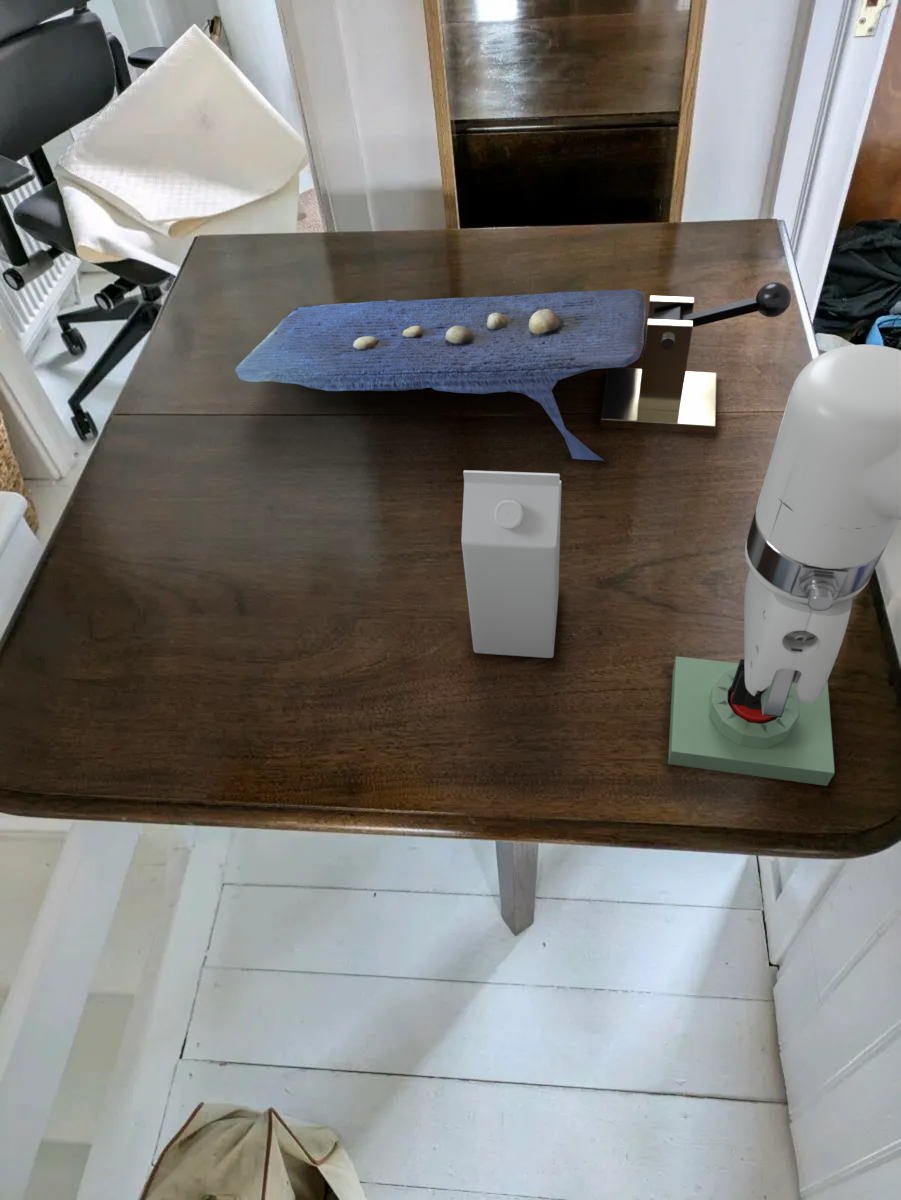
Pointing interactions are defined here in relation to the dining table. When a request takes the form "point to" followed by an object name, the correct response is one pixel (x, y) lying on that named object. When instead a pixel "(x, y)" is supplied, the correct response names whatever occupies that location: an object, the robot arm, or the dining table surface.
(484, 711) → the dining table surface
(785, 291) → the lever switch
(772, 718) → the power button
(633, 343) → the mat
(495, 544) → the milk carton
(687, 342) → the metal lever base
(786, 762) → the green push button box
